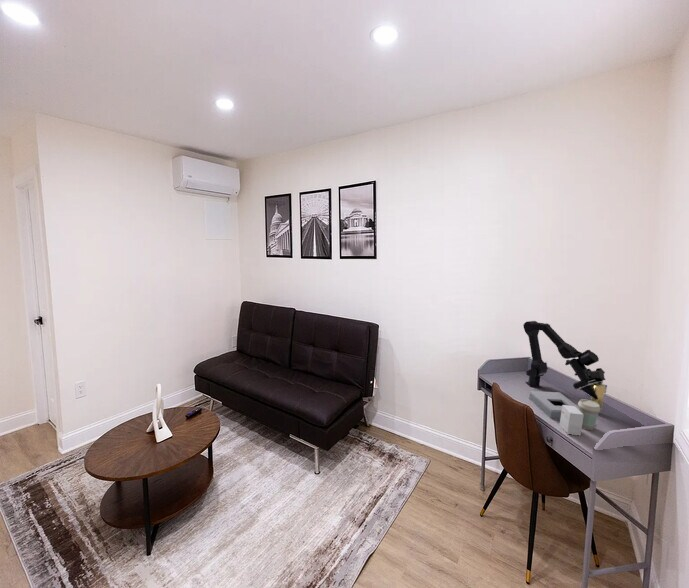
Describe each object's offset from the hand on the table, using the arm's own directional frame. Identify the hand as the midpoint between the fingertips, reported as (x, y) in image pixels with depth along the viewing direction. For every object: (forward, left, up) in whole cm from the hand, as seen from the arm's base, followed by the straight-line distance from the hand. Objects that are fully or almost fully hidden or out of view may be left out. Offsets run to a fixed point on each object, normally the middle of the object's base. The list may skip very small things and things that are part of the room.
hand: (600, 398), depth 164 cm
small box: (+17, -25, -9) cm, 31 cm away
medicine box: (-19, +12, -9) cm, 25 cm away
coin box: (-3, -20, -8) cm, 22 cm away
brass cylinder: (-1, -1, -7) cm, 7 cm away
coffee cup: (+13, -15, -9) cm, 21 cm away
